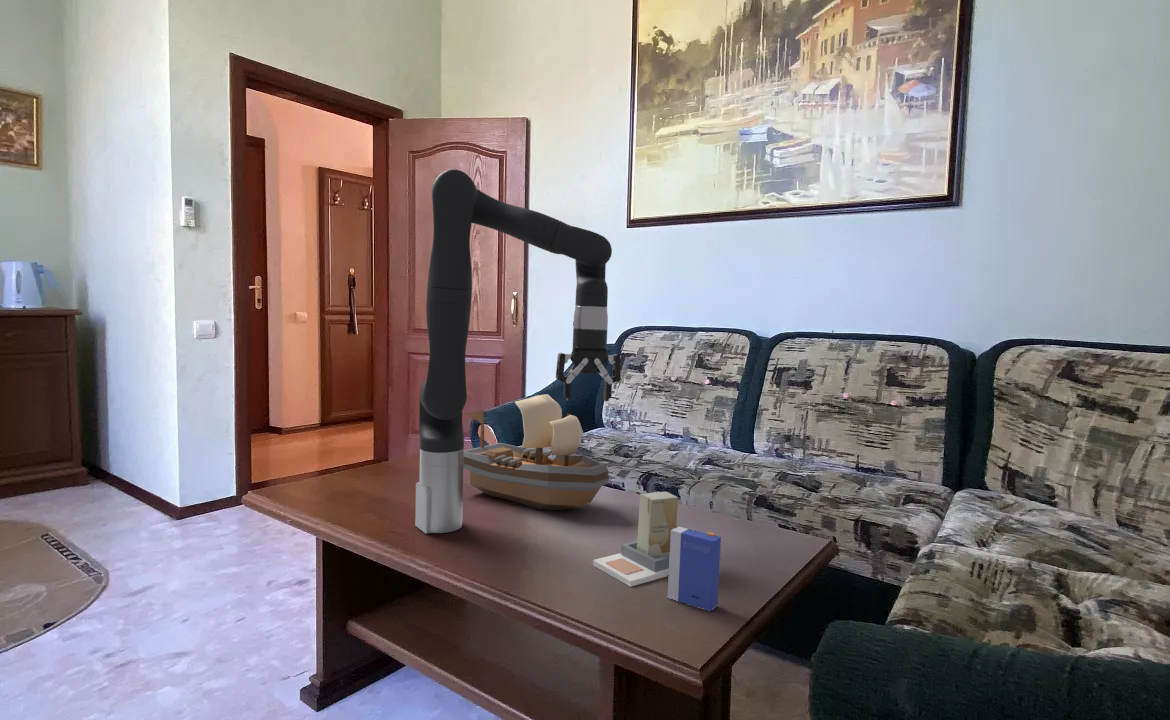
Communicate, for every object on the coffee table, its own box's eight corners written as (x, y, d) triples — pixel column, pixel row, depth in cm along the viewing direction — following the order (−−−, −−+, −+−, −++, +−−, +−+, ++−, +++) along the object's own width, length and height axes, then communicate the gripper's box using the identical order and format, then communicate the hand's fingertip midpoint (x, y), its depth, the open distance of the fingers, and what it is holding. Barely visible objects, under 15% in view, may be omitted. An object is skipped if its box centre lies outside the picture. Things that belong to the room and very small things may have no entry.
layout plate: (630, 586, 109) (631, 569, 109) (592, 565, 118) (593, 549, 118) (695, 567, 118) (696, 552, 118) (656, 549, 127) (657, 534, 127)
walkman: (717, 606, 103) (721, 534, 102) (710, 612, 101) (713, 539, 100) (674, 592, 107) (677, 523, 107) (666, 598, 105) (670, 528, 104)
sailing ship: (579, 527, 139) (583, 405, 137) (440, 489, 165) (442, 386, 163) (618, 509, 153) (623, 399, 151) (484, 477, 178) (487, 382, 177)
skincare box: (647, 564, 117) (650, 499, 116) (635, 556, 121) (638, 493, 120) (676, 559, 120) (679, 496, 119) (663, 551, 123) (666, 490, 123)
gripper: (562, 326, 133) (559, 402, 134) (626, 329, 136) (623, 403, 137) (555, 325, 140) (552, 398, 141) (616, 328, 144) (613, 398, 145)
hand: (587, 400), depth 139 cm, fingers open, 8 cm apart
